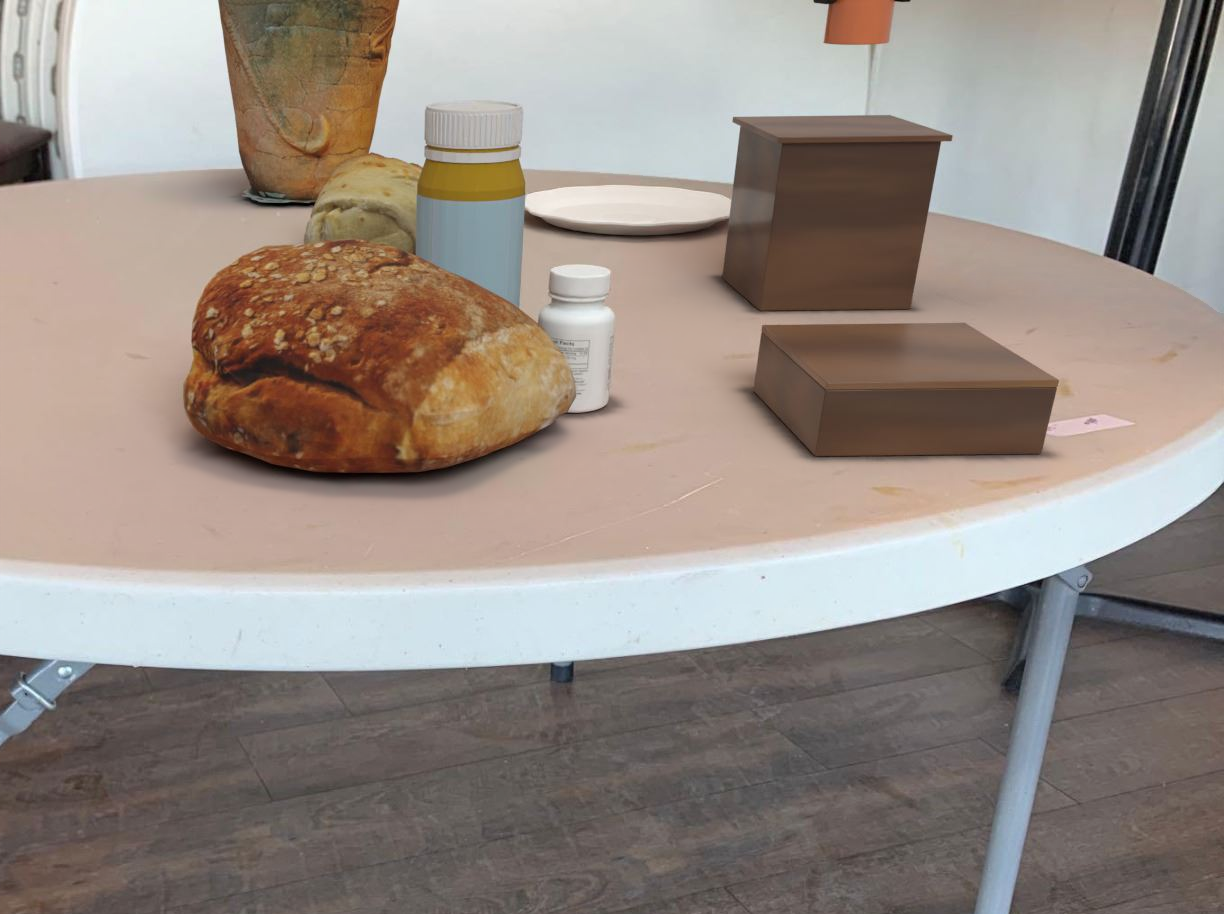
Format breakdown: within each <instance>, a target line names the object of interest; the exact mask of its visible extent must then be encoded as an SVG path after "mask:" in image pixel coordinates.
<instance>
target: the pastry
mask: <svg viewBox="0 0 1224 914" xmlns="http://www.w3.org/2000/svg"><path fill="white" fill-rule="evenodd" d="M422 169H423V166H421V165H420V164H418V163H414V162H406V161H404V160H403V159H399V158H395V157H387V156H384V155H383V154H379V153H376V152H372V151H370V152H369V154H365V155H360V156H355V157H352V158H349V159H347V160H344V161H342V162H340V163H339V164H338V165H337V166H336V167H335V168H334V169H333V170H332V172H331V174H330V176H329V179H328V180H327V182H326V184H325V185H324V187H323V189H322V191H321V192H320V193H319V196H318V198H317V200H316V202H314V205H313V207H312V210H311V213H310V218H309V220H308V222H307V224H306V225H305V231H304V232H305V233H304V238H303V243H302V244H306V243H315V242H321V241H326V240H334V239H361V240H364V241H368V242H372V243H375V244H385V245H390V246H392V247H395V248H398V249H400V250H403V251H406V252H408V253H411V254H414V255H416V207H417V183H418V180H419V177H420V174H421V172H422Z"/></svg>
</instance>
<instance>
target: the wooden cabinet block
mask: <svg viewBox="0 0 1224 914" xmlns="http://www.w3.org/2000/svg"><path fill="white" fill-rule="evenodd" d="M732 123H734V124H736V125H737V126H739V135H738V143H737V151H736V158H735V159H736V160H735V168H734V174H733V175H734V176H733V184H732V193H731V199H732V200H731V208H730V216H729V219H728V225H727V232H726V242H725V249H724V251H725V252H724V258H723V267H722V268H723V269H722V273H721V274H722V275H721V279H723V280H724V281H725V282H727V284H729V285H730V286H731V287H732V288H733V289H735V290H736V292H738V294H740V295H741V296H742V297H744V298H745V299H746V300H747V301H748V302H750V303H751V305H753V306H754V307H756V309H757V310H759V311H760V312H761V311H762V312H766V311H769V312H770V311H771V312H773V311H846V310H848V311H854V310H855V311H857V310H859V311H860V310H861V311H862V310H863V311H864V310H911V308H912V307H911V306H912V302H913V297H914V291H915V285H916V280H917V275H918V269H919V266H920V265H919V263H920V260H921V259H920V258H921V253H922V248H923V242H924V238H925V233H926V227H927V221H928V215H929V210H930V205H931V199H932V194H933V188H934V183H935V177H936V171H937V167H938V161H939V157H940V156H939V155H940V151H941V145H942V142H952V141H953V136H954V135H953V134H951V133H947V132H944V131H941V130H938V129H935V128H932V127H930V126H929V127H928V126H925V125H923V124H920V123H916V122H913V121H910V120H907V119H903V118H901V117H898V116H894V115H891V114H874V115H873V114H863V115H862V114H860V115H859V114H858V115H856V114H855V115H854V114H853V115H852V114H851V115H790V116H789V115H778V116H775V115H774V116H772V115H771V116H767V115H766V116H764V115H763V116H733V117H732Z"/></svg>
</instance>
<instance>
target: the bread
mask: <svg viewBox="0 0 1224 914" xmlns="http://www.w3.org/2000/svg"><path fill="white" fill-rule="evenodd" d="M190 341H191V349H192V355H193V359H192V362H191V366H190V370H189V372H188V374H187V376H186V378H185V380H184V382H183V385H182V387H183V388H182V389H183V390H182V401H183V408H184V412H185V415H186V417H187V419H188V421H189V423H190V424H191V426H192V428H194V429H195V430H196V432H198V433H199V434H200V435H201V436H202V437H203V438H204V439H207V440H209V441H211V442H213V443H216V444H217V445H219V446H221V447H222V448H225V449H229V450H232V451H235V452H239V453H242V454H245V455H248V456H251V457H253V458H256V459H259V460H261V461H263V462H266V463H269V464H271V465H276V466H281V467H285V468H286V467H287V468H292V469H297V470H304V471H308V472H313V473H314V472H315V473H339V474H341V473H344V474H360V473H361V474H366V473H367V474H368V473H369V474H371V473H373V474H374V473H379V474H381V473H420V472H428V471H432V470H438V469H445V468H448V467H452V466H455V465H458V464H461V463H465V462H469V461H472V460H475V459H478V458H480V457H484V456H487V455H489V454H491V453H493V452H495V451H498V450H501V449H503V448H507V447H509V446H512V445H514V444H516V443H518V442H520V441H522V440H524V439H526V438H528V437H531V436H532V435H534V434H536V433H537V432H540V431H542V430H543V429H545V428H546V427H549V426H550V425H553V423H555V421H556V420H557V419H558V418H559V417H560V416H561V415H564V414H566V413H569V412H568V410H569V408H570V407H571V405H572V403H573V401H574V400H575V398H576V388H575V379H574V377H573V374H572V371H571V368H570V366H569V363H568V361H567V360H566V358H565V356H564V355H563V354H562V353H561V351H560V350H559V349H558V348H557V346H556V345H555V343H554V342H553V340H552V339H551V337H550V336H549V334H548V333H547V332H546V331H545V330H544V329H543V328H542V327H541V326H540V325H539V324H538V321H536V320H535V319H533V318H532V317H531V316H530V315H529V314H527V313H526V312H524V311H523V310H522V309H520V307H519V308H518V307H517V306H515V305H514V304H512V303H510V302H509V301H507V300H506V299H504V298H502V297H500V296H498V295H496V294H495V293H493V292H491V291H489V290H487V289H485V288H483V287H481V286H480V285H478V284H476V283H474V282H472V281H470V280H468V279H465V278H463V277H461V276H458V275H456V274H454V273H451V272H449V271H447V270H444V269H442V268H440V267H438V266H436V265H434V264H432V263H430V262H428V261H426V260H424V259H422V258H420V257H418V256H416V255H414V254H411V253H408V252H406V251H403V250H400V249H398V248H395V247H392V246H390V245H385V244H375V243H372V242H368V241H364V240H361V239H334V240H326V241H321V242H315V243H306V244H303V243H298V244H281V245H280V244H279V245H277V244H276V245H274V244H273V245H263V246H262V247H259V248H258V249H255V250H253V251H250V252H249V253H245V254H244V255H242V256H240V257H238V258H236V260H234V261H233V262H232V263H230V264H229V265H227V266H225V267H223V268H222V269H220V270H219V271H217V272H215V274H214V275H213V277H212V278H211V279H210V280H209V282H208V283H207V284H206V285H205V287H204V289H203V291H202V293H201V295H200V297H199V299H198V301H197V303H196V307H195V311H194V314H193V318H192V323H191V339H190Z"/></svg>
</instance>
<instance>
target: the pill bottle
mask: <svg viewBox="0 0 1224 914" xmlns="http://www.w3.org/2000/svg"><path fill="white" fill-rule="evenodd" d="M611 281H612V271H611V269H609V268H607V267H604V266H601V265H595V264H584V263H583V264H580V263H579V264H577V263H575V264H563V265H557V266H554V267H551V268H550V270H549V279H548V292H547V296H548V297H549V298H551V302H550V303H548V304H546V305H545V306H544V307H542V309H540V311H539V313H538V317H537V323H538V324H539V325H540V326H541V327H542V328H543V329H544V330H545V331H546V332H547V333H548V334H549V336H550V337H551V339H552V340H553V342H554V343H555V345H556V346H557V348H558V349H559V350H560V351H561V353H562V354H563V355H564V356H565V358H566V360H567V361H568V363H569V366H570V368H571V371H572V374H573V377H574V379H575V388H576V398H575V400H574V401H573V403H572V405H571V407H570V408H569V410H568V412H567V413H569V414H570V413H572V414H573V413H574V414H578V413H587V412H588V413H589V412H593V411H597V410H600V409H602V408H603V407H605V406H606V405H607V404H608V403H609V399H610V389H611V376H612V365H613V353H614V342H615V341H614V339H615V329H616V314H615V313H614V311H613V310H612V309H611V308H610V307H609V306H607V305H605V300H606V299H608V298H609V297H610V294H609V293H610V292H611Z"/></svg>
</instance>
